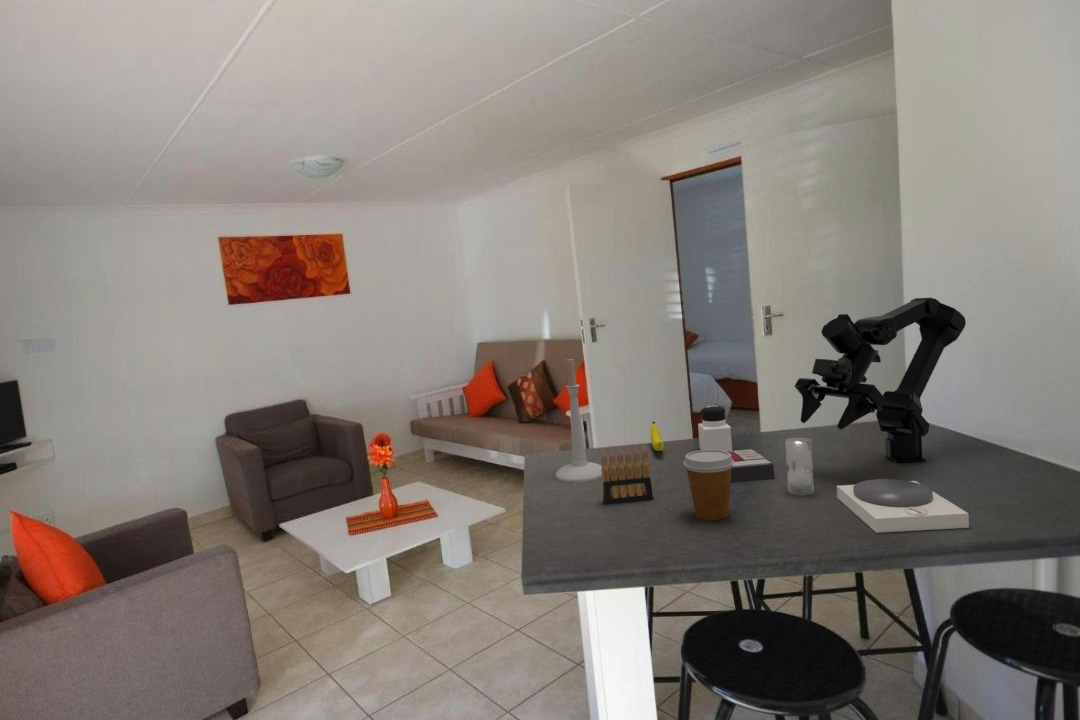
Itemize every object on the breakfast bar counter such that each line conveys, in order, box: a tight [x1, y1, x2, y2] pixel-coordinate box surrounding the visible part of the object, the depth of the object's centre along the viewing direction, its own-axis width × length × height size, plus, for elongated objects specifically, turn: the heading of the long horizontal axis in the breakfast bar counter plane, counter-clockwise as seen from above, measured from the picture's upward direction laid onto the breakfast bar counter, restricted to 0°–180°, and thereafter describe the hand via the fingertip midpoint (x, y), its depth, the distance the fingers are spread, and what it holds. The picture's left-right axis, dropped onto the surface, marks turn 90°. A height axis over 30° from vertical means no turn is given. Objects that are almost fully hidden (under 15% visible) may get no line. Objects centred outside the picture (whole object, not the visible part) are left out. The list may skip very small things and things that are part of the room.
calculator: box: [727, 449, 775, 483], centre depth 148 cm, size 11×4×15 cm
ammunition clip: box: [600, 444, 654, 506], centre depth 135 cm, size 11×2×12 cm, turn 91°
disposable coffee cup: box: [683, 449, 734, 521], centre depth 122 cm, size 10×10×12 cm
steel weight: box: [784, 437, 815, 497], centre depth 130 cm, size 5×5×11 cm
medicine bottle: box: [697, 405, 734, 453], centre depth 167 cm, size 7×7×12 cm
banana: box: [650, 421, 665, 452], centre depth 173 cm, size 3×19×6 cm, turn 175°
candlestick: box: [555, 358, 602, 483], centre depth 157 cm, size 13×13×30 cm
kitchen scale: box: [836, 478, 970, 534], centre depth 115 cm, size 15×18×4 cm
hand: (820, 425), depth 132 cm, fingers open, 9 cm apart
